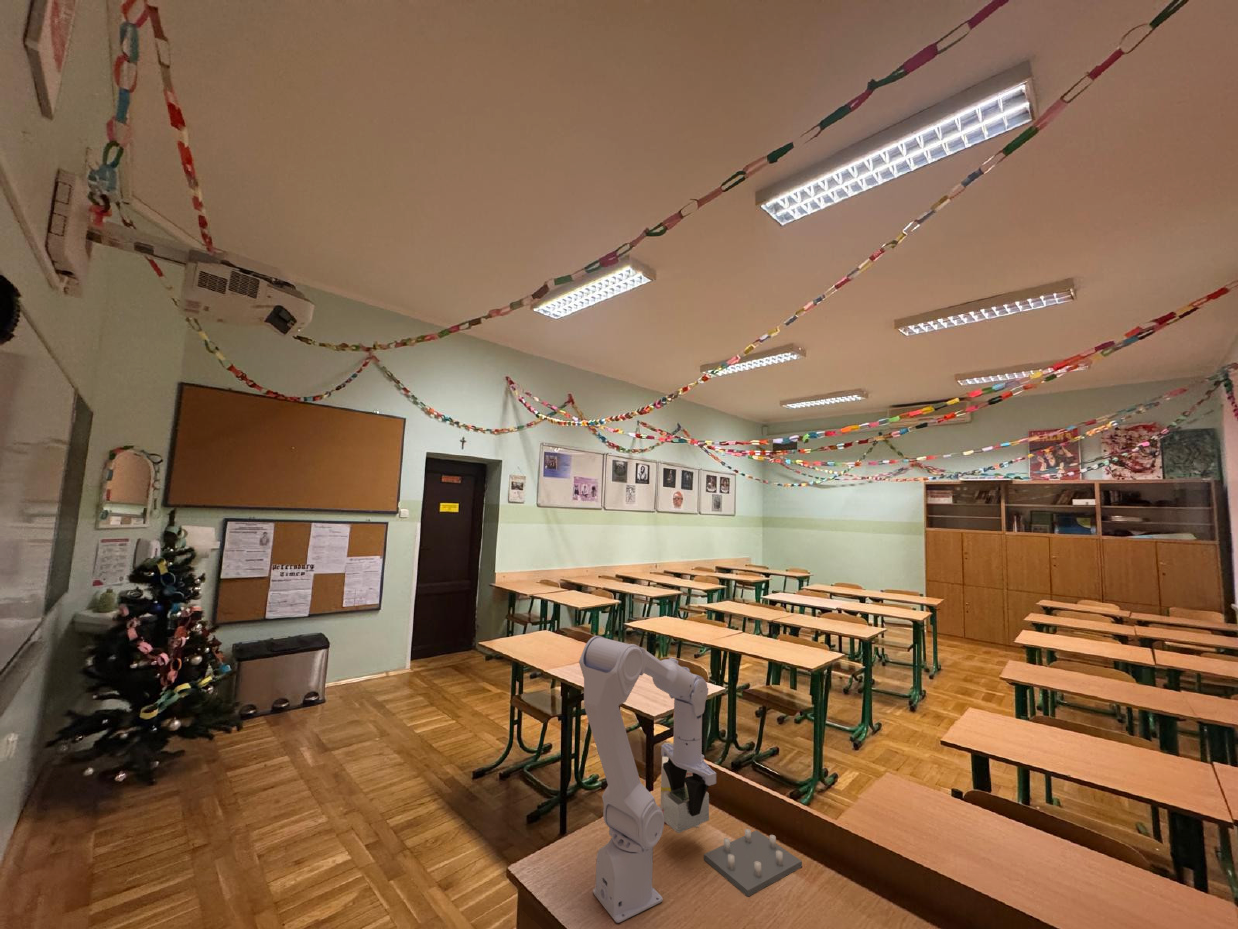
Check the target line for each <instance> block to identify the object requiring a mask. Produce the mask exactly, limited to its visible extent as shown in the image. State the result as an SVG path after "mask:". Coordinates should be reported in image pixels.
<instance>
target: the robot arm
mask: <svg viewBox="0 0 1238 929" xmlns="http://www.w3.org/2000/svg"><path fill="white" fill-rule="evenodd" d="M578 663H579V667H580V669H581V674H582V678H583V706H584V710H585V714H586V717H587V720H588V724H589V726H590V730H591V733H592V737H593V739H594V740H593V741H594V743H595V746H596V750H597V754H598V756H599V760H600V763H601V767H602V769H603V773H604V777H605V779H606V784H607V786H606V788H605V790H604V791H603V793H602V796H601V800H602V803H603V811H602V812H603V813H602V814H603V815H602V817H603V821H604V823H605V825H606V826H607V827H609V829H608V835H609V837H611V838H610V839H609V841H608V842H607V843H606V844H605V845H604V846H602V847H600V848H599V849H598V851H597V853H596V861H595V862H596V865H595V866H596V867H595V887H594V888H593V889H592V894H594V896H595V898H596V899H597V900H598V901H599V903H600V904H601V905H602V906H603V908H604V909H605V910H606V912H607V913H608V914H609V915H610V917H611V918H612V920H614V922H615V923H617V924H618V923H621V922H624V921H625V920H628V919H629V918H631V917H633V916H635V915H638V914H640V913H642V912H643V911H646V910H648V909H650V908H652V907H654V906H656V905H658V904H660V903H662V902H663V896H662V895H661V894H660V893H659V892H658V891H657V890H656V889H655V888H654V887H653V866H654V865H653V860H654V858H653V857H654V855H653V854H654V853H653V852H654V847H655V846H656V845H657V844H658V842H659V841H660V839H661V837H662V835H663V831H664V827H665V826H664V825H665V823H664V815H663V811H662V809H661V808H660V805H659V806H658V804H657V801H656V799H655V796H654V795H653V794H652V793H651V792H650V791H649V789H647V787H645V786H644V784H643V783H642V782H641V779H640V776H639V771H638V768H637V765H636V761H635V758H634V755H633V751H632V747H631V743H630V741H629V737H628V734H627V730H626V727H625V723H624V720H623V716H622V713H621V709H620V707H619V706H620V705H622V704H625V703H626V702H627V700H628V699H629V696H630V695H631V693H632V690H633V689H634V687H635V686H636V684H637V682H638V680H639V678H640V676H643V675H646V676H649V677H650V678H652V682H653V684H654V686H655V687H656V688H657V689H658V690H661V691H662V692H664V693H666V694H668V695H669V698H670V699H672V700H673V701H674V702H673V736H672V737H673V746H672V745H670V744H665V745H663V744H661V746H660V747H661V750H660V752H661V753H660V755H661V757H663V756H664V757H665V756H667V757H669V758H668V762H665V763H663V768H664V770H665V772H666V775H667V777H668V780H669V784H670V788H671V791H673V790H675V789H678V788H681V787H684V786H685V783H686V786H687V790H688V796H689V811H690V815H691V816H696V815H698V814H700V811H701V807H702V803H703V799H704V796H705V794H706V792H708V790H709V788H710V786H713V785H715V784H717V772H715V770H713V769H712V768H711V767H710V766H709V765H708V763H707V762H706V761H705V755H704V754H702V753H703V752H702V750H703V749H702V748H703V747H702V746H703V742H702V741H703V714H704V713H705V710H706V700H707V698H708V695H709V687H708V683H707V682H706V680H705V679H704V677H703V676H701V675H698V674H695V673H692V672H691V670H690V668H689V667H686V666H681V665H679V660H677V659H676V658H673V657H669V658H667V659H662V660H660V659H659V658H657V657H656V656H655V655H653V654H652V653H650V652H649V651H647V650H646V648H644V647H641V646H639V645H637V644H634V643H630V644H629V643H627V642H622V641H618V640H614V639H609V638H606V637H604V636H601V635H594V636H592V637H591V638H590V639H588V641H587V642H586V643H585V646H584V648H583V650H582V653H581V656H580V657H579V660H578ZM687 771H690V772H692V773H693V776H689V777H686V773H687Z"/></svg>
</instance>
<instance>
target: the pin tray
mask: <svg viewBox="0 0 1238 929" xmlns="http://www.w3.org/2000/svg"><path fill="white" fill-rule="evenodd" d="M703 860H704V861H705V862H706V863H707V864H708V865H709V866H711V867H712V868H713V869H714V870H715V871H716V872H718V873H719V874H720V875H721V876H722V877H724V878H725V879H726V880H727V881H729V882H730V883H731V884H732V885H733V886H734V887H735V888H737V889H738V890H739V891H740V892H741V893H742V894H743V895H745V896H746V897H747V898H749V897H750V896H753V895H754V894H756V893H758V892H760V891H761V890H763V889H765V888H767V887H769V886H770V885H772V884H774V883H775V882H778V881H779V880H781V879H782V878H785V877H787V876H788V875H790V874H792V873H795V871H797V870H799V869H801V868H802V867H803V861H802V860H801V859H800V858H798V857H797V856H795V855H794V854H792V853H790V852H789V851H788V850H786V849H785V848H783V847H782V846H780V845H779V844H778V843H777V837H776V835H774V834H770V835H769V837H768V836H766V835H765V834H763V833H761V832H760V831H758V830H754V831H751V829H750V828H744V835H743V836H741V837H739V838H737V839H734V840H732V841H731V840H730V838H727V837H725V838H723V845H721V846H718V847H717V848H714V849H712V850H709V851H708V852H705V853H704V854H703Z"/></svg>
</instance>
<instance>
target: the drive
mask: <svg viewBox="0 0 1238 929" xmlns="http://www.w3.org/2000/svg"><path fill="white" fill-rule="evenodd" d="M709 796H710V793H709V792H708V791H706V794H705V796H704V799H703V803H702V807H701V811H700V814H698V815H696V816H691V815H690V811H689V796H688V790H687V786H684V787H681V788H678V789H675V790H673V791H670V792H667V793H664V822H665V823H667V826H669V827H670V828H671V829H672V830H674V831H675V832H676V833H677V834H680V833H682V832H685V831H688V830H689V829H691V828H695V827H694V826H696V825H699V826H700V825H701V824H703V823H706V822H708V821H710V797H709ZM665 823H664V824H665Z"/></svg>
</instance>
